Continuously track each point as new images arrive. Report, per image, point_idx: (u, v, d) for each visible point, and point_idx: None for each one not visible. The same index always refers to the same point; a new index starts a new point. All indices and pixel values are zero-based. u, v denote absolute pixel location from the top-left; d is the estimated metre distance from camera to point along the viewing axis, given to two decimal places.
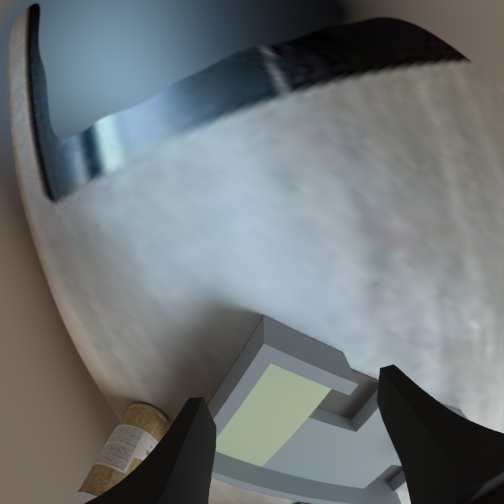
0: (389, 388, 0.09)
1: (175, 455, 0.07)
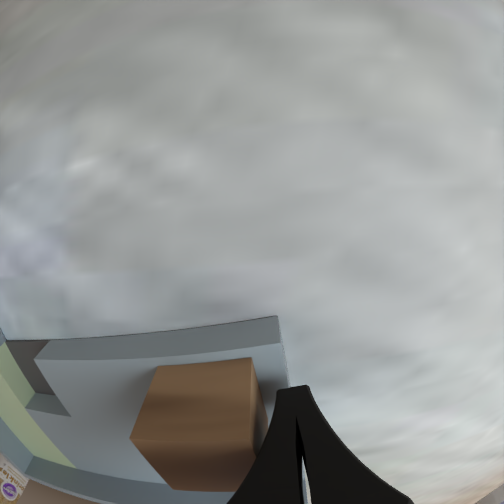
0: None
1: (292, 449, 0.07)
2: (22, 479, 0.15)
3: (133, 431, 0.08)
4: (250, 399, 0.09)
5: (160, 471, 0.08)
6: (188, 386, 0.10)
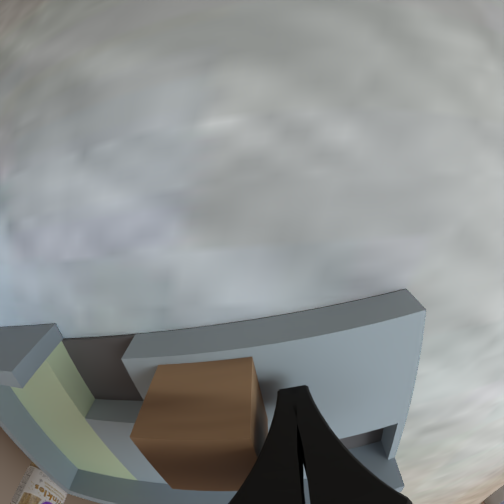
0: None
1: (293, 449, 0.07)
2: (62, 495, 0.15)
3: (133, 430, 0.08)
4: (251, 398, 0.09)
5: (160, 470, 0.08)
6: (189, 385, 0.10)
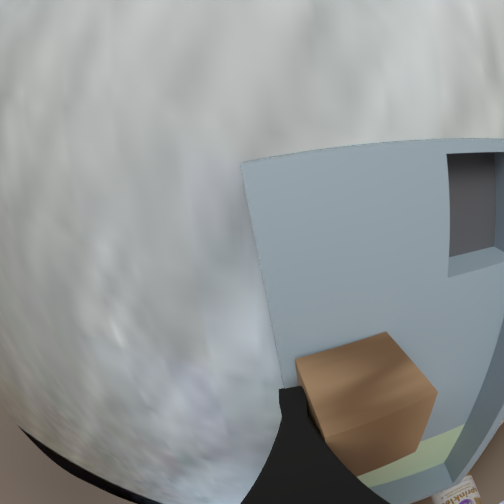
0: None
1: (304, 447, 0.07)
2: (465, 484, 0.14)
3: None
4: (311, 399, 0.09)
5: (379, 466, 0.09)
6: None
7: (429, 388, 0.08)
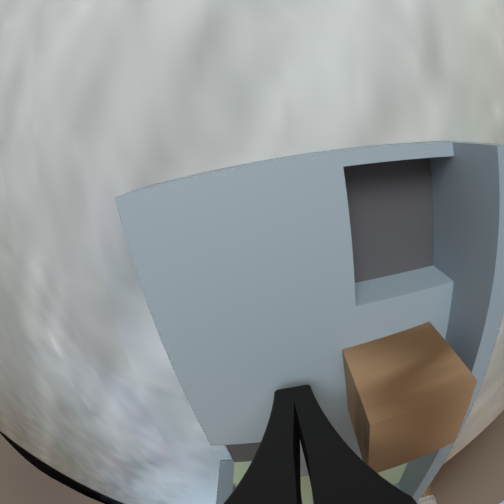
0: (295, 409, 0.09)
1: (289, 449, 0.07)
2: None
3: None
4: (357, 388, 0.09)
5: (419, 456, 0.08)
6: (353, 409, 0.11)
7: (469, 377, 0.07)
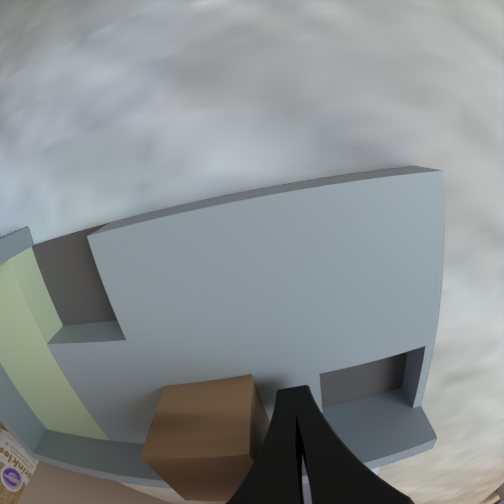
0: None
1: (292, 449, 0.07)
2: (30, 463, 0.13)
3: (143, 449, 0.08)
4: (250, 416, 0.09)
5: (171, 484, 0.09)
6: (193, 405, 0.10)
7: None
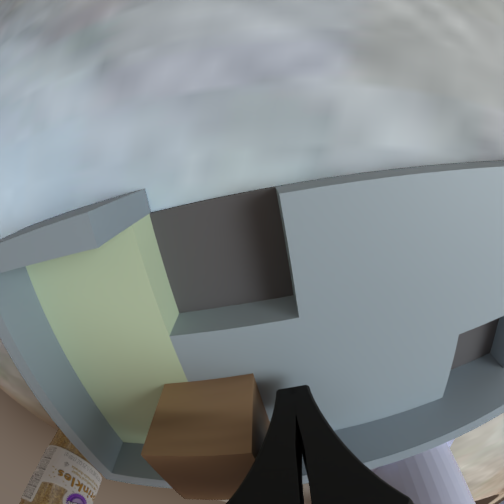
0: None
1: (291, 449, 0.07)
2: (95, 483, 0.13)
3: (143, 448, 0.08)
4: (252, 414, 0.09)
5: (171, 482, 0.09)
6: (194, 403, 0.10)
7: None
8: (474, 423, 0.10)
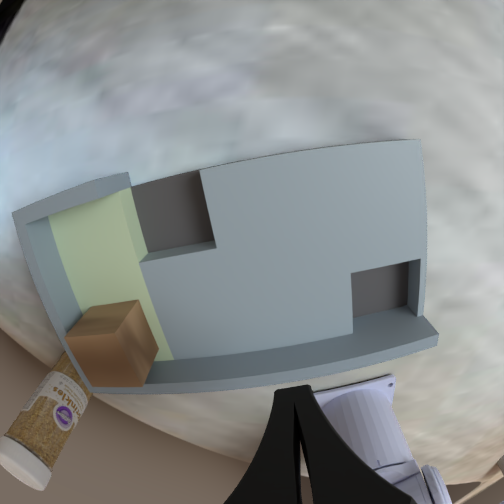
0: (295, 409, 0.09)
1: (289, 449, 0.07)
2: (81, 403, 0.19)
3: (66, 334, 0.15)
4: (126, 317, 0.16)
5: (82, 366, 0.15)
6: (101, 313, 0.17)
7: (142, 381, 0.16)
8: (379, 355, 0.17)
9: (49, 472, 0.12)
